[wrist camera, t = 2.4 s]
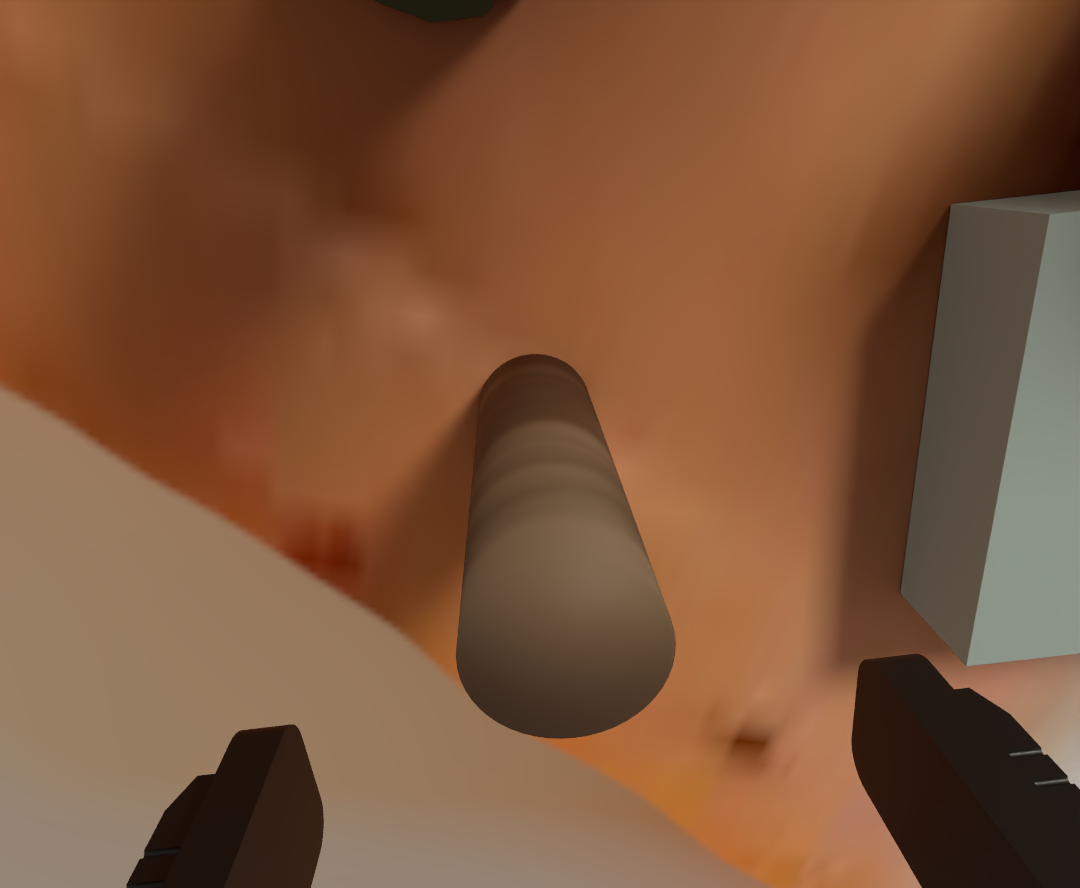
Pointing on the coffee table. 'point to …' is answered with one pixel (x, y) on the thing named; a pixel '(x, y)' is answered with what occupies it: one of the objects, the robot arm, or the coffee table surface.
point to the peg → (555, 566)
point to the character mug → (441, 8)
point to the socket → (1002, 437)
